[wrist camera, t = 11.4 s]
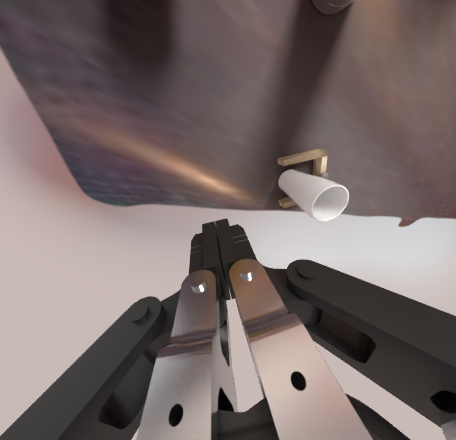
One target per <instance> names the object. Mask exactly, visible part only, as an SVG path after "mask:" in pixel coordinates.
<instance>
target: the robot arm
mask: <svg viewBox="0 0 456 440" xmlns="http://www.w3.org/2000/svg"><path fill="white" fill-rule="evenodd" d="M353 1H354V0H312V2H313V4H314V6H315V7H316V8H317V10H319V11H320V12H321V13H324V14H327V15H332V14H335V13H338V12H340V11H341V10H343V9H344V8H345V7H346V6H348V5H349V4H350V3H352V2H353ZM215 222H216V225H215ZM215 222H210V223H206V224H202V233H200V234H196V235H195V236H194V237H193V239H192V241H191V252H190V253H191V254H190V267H189V275H188V276H187V277H186V278H185V280H184V281H183V283H182V286H181V289H180V290H179V291H178V292H177V293H175V294H174V295H172V296H170V297H168V298H166V299H164V300H163V301H161V302H160V301H159V299H157V298H156V297H146V298H143V299H140V300H139V301H137V302H135V303H134V304H133V305H132V306H131V307H130V308H129V309H128V310H127V311H126V312H125V313H124V314H123V315H122V316H121V317H120V318H119V319H118V320H116V321H115V323H114V324H113V325H112V326H110V328H108V329H107V331H105V332H104V333H103V334H102V336H100V337H99V338H98V340H96V341H95V343H94V344H92V345H91V346H90V347H89V348H88V349H87V350H86V352H84V353H83V354H82V356H81V357H79V358H78V359H77V360H76V361H75V362H74V364H72V365H71V366H70V368H68V369H67V370H66V371H65V372H64V374H62V375H61V376H60V377H59V378H58V379H57V380H56V381H55V382H54V383H53V384H52V385H51V386H50V387H49V388H48V389H47V391H45V392H44V393H43V394H42V395H41V396H40V397H39V398H38V399H37V400H36V401H35V402H34V403H33V404H32V405H31V406H30V407H29V408H28V409H27V410H26V411H25V412H24V413H23V414H22V415H21V416H20V417H19V418H18V419H17V420H16V421H15V422H14V423H13V424H12V425H11V426H10V427H9V428H8V429H7V430H6V431H5V432H4V433H3V434H2V435H1V436H0V440H131V439H132V437H133V436H134V434H135V433H136V431H137V429H138V428H139V431H138V435H137V439H136V440H410V439H409V438H408V437H406V436H405V435H404V434H403V433H402V432H400V431H399V430H398V429H397V428H395V427H393V425H392V424H390V423H389V422H388V421H386V420H385V419H384V418H383V417H382V416H380V415H379V414H378V413H376V412H375V411H374V410H373V409H371V408H369V407H368V406H367V405H365V404H364V403H362V402H360V401H359V400H357V399H355V398H353V397H351V396H350V395H348V394H345V393H344V391H343V390H342V388H341V386H340V385H339V383H338V381H337V380H336V378H335V376H334V375H333V373H332V371H331V370H330V368H329V366H328V365H327V363H326V361H325V360H324V358H323V356H322V355H321V353H320V351H319V350H318V348H317V346H316V345H315V343H314V342H313V341H315V342H316V343H318V344H319V345H321V346H322V347H324V348H325V349H326V350H328V351H329V352H331V353H332V354H334V355H335V356H337V357H338V358H340V359H341V360H343V361H344V362H345V363H347V364H349V365H350V366H351V367H353V368H354V369H356V370H357V371H359V372H360V373H362V374H363V375H364V376H366V377H367V378H369V379H370V380H372V381H373V382H375V383H376V384H378V385H379V386H381V387H382V388H384V389H385V390H386V391H388V392H389V393H391V394H392V395H394V396H395V397H397V398H398V399H400V400H401V401H402V402H404V403H405V404H407V405H408V406H410V407H411V408H413V409H414V410H416V411H417V412H419V413H420V414H421V415H423V416H425V417H426V418H427V419H429V420H430V421H432V422H433V423H435V424H436V425H438V426H439V427H440V428H442V430H443V433H444V435H445V438H446V440H456V316H454V315H451V314H449V313H446V312H443V311H441V310H438V309H436V308H433V307H431V306H428V305H425V304H423V303H420V302H417V301H415V300H412V299H410V298H407V297H405V296H402V295H399V294H397V293H394V292H392V291H389V290H387V289H384V288H381V287H379V286H376V285H373V284H371V283H368V282H366V281H363V280H361V279H358V278H355V277H353V276H350V275H348V274H345V273H342V272H340V271H337V270H334V269H332V268H329V267H327V266H324V265H321V264H319V263H316V262H314V261H311V260H296V261H294V262H292V263H290V264H289V266H288V267H287V269H272V268H268V267H265V266H263V265H262V264H260V263H259V262H258V261H257V259H256V257H255V254H254V252H253V250H252V247H251V245H250V243H249V240H248V238H247V236H246V233H245V231H244V229H243V228H242V227H241V226H239V225H238V224H237V225H233V226H229V223H228V220H227V219H222V220H219V221H215ZM228 286H229V287H228ZM229 290H230V293H231V297H232V299H234V298H235V299H236V303H237V307H238V311H239V314H240V318H241V321H242V325H243V328H244V332H245V335H246V338H247V342H248V345H249V349H250V352H251V356H252V359H253V362H254V366H255V370H256V373H257V377H258V380H259V384H260V387H261V391H262V394H263V398H264V399H262V400H261V401H260V402H258V403H257V404H256V405H254V406H253V407H252V408H250V409H249V410H248V411H246V412H241V413H239V412H238V410H237V398H236V389H235V382H234V377H233V371H232V361H231V347H230V334H229V321H228V315H227V312H228V311H227V304H226V300H230V299H231V298H230V293H229ZM139 426H140V427H139Z"/></svg>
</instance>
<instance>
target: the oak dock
mask: <svg viewBox="0 0 456 440" xmlns="http://www.w3.org/2000/svg"><path fill="white" fill-rule="evenodd" d="M327 155H328V150H324V149H315V150H311V151H307V152H302V153H298V154H293V155H289V156H285V157H280V158H277V164H280V165H282V166H286V165H290V164H295V163H299V162H304V161H308V160H312V159H313V172H312V175H314V176H318V177H322V178H325V179H329V174H327V173H325V172H326V164H327ZM278 200H279V204H280V205H281V206H282V207H283V208H286V207H290V206H295V205H297V204H296V203H295V202H294V201H293V200H292V199H291V198H290V197H285V198H281V199H278Z"/></svg>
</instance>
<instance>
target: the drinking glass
mask: <svg viewBox="0 0 456 440" xmlns="http://www.w3.org/2000/svg"><path fill="white" fill-rule="evenodd" d="M278 184H279V187H280V189H281V190H283V191H284V192H285V193H286V194H287V195H288V196H289V197H290V198H291V199H292V200H293V201H294V202H295V203H296V204H297V205H298V206H299V207H300V208H301V209H302V210H303V211H304V212H306V213H307V214H308V215H310V216H311V217H313V218H314V219H316V220H318V221H323V222H324V221H329V220H332V219H333V218H335V217H337V216H338V215H339V214H341V213H342V211H343V210H344V209H345V207H346V206H347V203H348V200H349V193H348V190H347V189H346V188H345V187H344V186H342V185H340V184H338V183H335V182H333V181H331V180H328V179H325V178H322V177H318V176H314V175H310V174H306V173H303V172H299V171H296V170H293V169H289V170H286V171H285V172H283V173H282V174H281V176H280V177H279V181H278Z"/></svg>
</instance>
